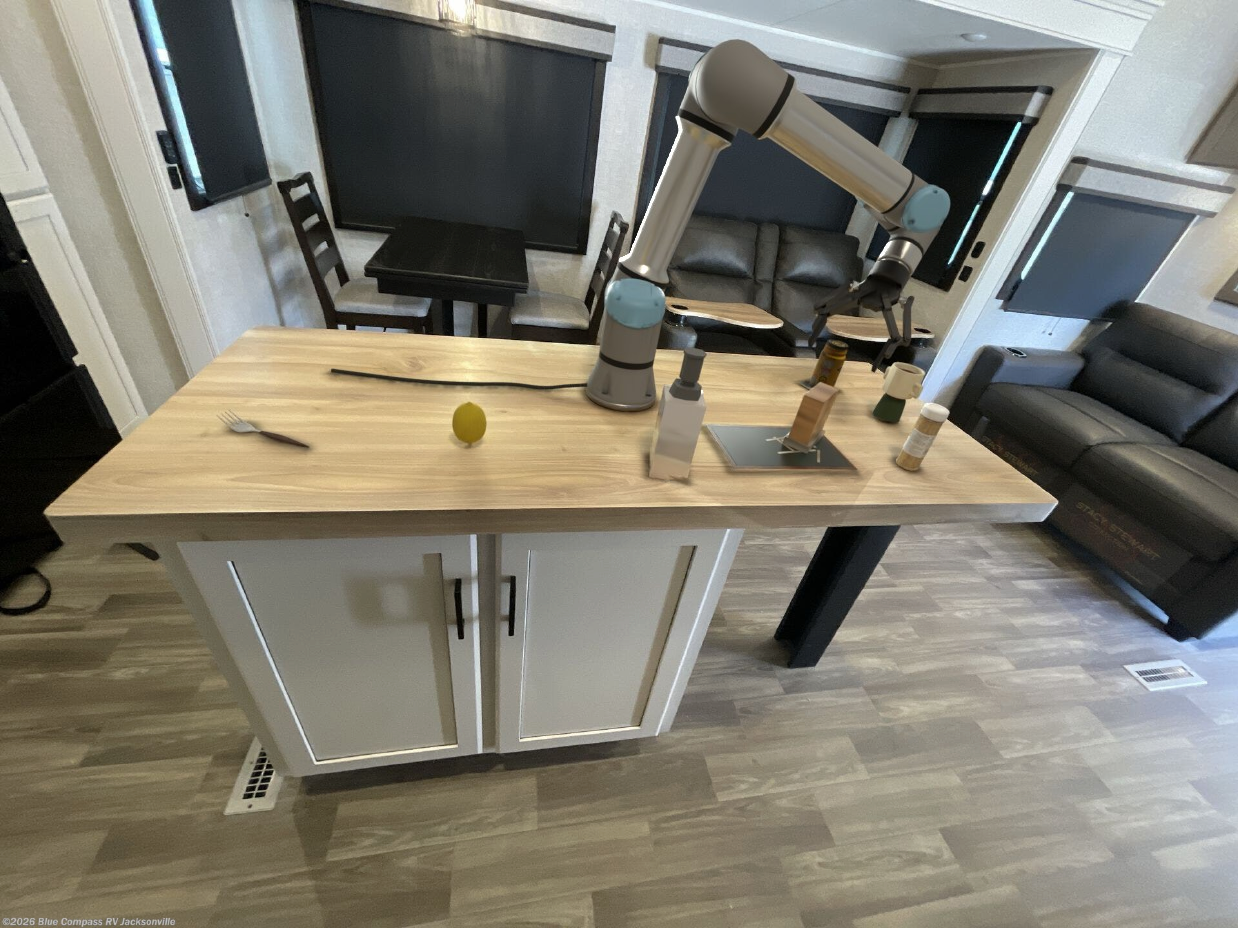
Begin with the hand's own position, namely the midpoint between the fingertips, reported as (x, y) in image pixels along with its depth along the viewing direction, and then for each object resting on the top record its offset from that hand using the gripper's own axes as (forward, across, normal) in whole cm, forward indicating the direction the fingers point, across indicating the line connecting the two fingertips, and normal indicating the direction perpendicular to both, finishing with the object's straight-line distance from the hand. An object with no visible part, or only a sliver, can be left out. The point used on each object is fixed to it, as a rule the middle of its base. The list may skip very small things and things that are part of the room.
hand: (840, 356), depth 108 cm
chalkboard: (+24, +1, +2) cm, 24 cm away
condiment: (-3, +6, -29) cm, 30 cm away
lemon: (+54, +39, +35) cm, 75 cm away
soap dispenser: (+39, +13, +19) cm, 45 cm away
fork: (+69, +60, +52) cm, 106 cm away
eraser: (+18, -2, -2) cm, 19 cm away
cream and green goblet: (-1, -12, -26) cm, 28 cm away
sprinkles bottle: (+12, -21, -10) cm, 26 cm away
